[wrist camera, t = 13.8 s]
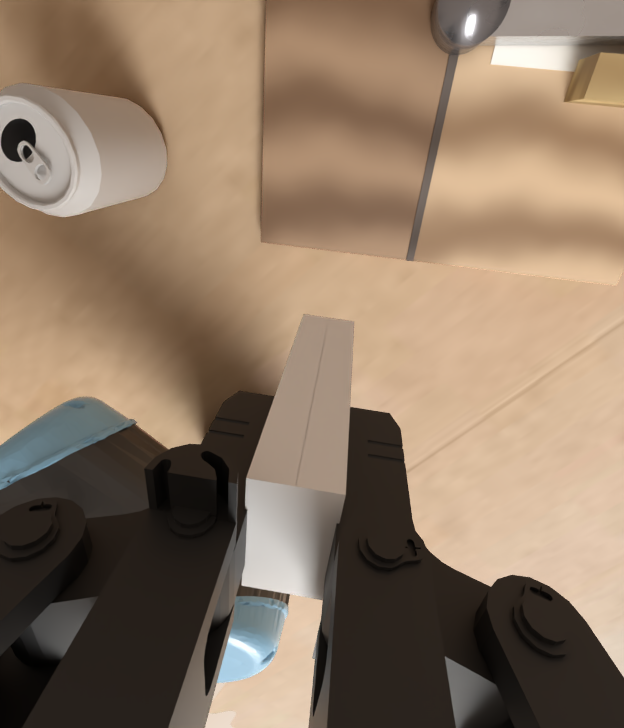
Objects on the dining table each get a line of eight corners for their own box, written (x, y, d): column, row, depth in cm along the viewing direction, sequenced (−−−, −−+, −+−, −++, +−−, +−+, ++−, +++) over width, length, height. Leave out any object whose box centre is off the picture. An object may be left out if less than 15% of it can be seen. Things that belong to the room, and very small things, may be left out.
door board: (606, 279, 34) (637, 298, 30) (264, 238, 36) (251, 250, 32) (937, -406, 18) (1098, -561, 14) (282, -413, 20) (260, -549, 16)
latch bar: (425, 55, 27) (433, 43, 23) (436, -25, 25) (446, -50, 21) (699, 55, 25) (749, 43, 22) (734, -31, 23) (796, -59, 20)
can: (123, 74, 31) (0, 43, 21) (189, 159, 34) (109, 170, 23) (70, 140, 34) (-61, 142, 24) (135, 214, 37) (42, 245, 26)
